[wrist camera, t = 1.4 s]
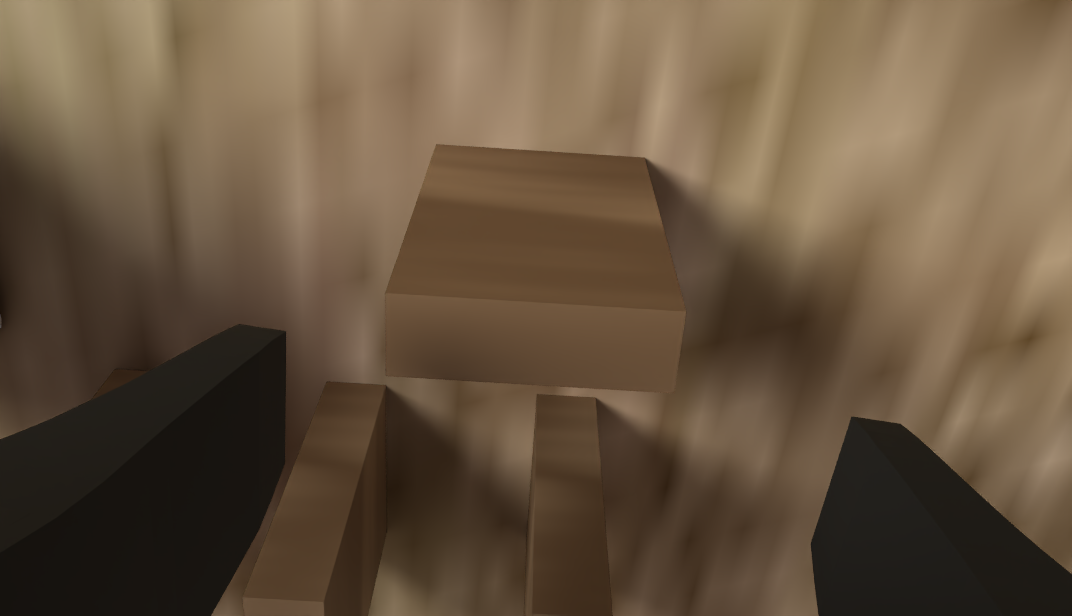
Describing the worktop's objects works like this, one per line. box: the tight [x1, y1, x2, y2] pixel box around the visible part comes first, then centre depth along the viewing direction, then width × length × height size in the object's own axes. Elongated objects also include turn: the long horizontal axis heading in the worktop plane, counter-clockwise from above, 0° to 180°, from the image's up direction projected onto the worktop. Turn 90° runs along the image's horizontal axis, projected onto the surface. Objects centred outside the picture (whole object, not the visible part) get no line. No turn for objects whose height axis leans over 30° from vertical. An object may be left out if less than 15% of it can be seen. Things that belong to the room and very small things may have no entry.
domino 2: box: [385, 144, 686, 393], centre depth 18 cm, size 1×4×7 cm, turn 87°
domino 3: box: [524, 394, 613, 616], centre depth 21 cm, size 1×4×7 cm, turn 176°
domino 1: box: [242, 382, 387, 616], centre depth 21 cm, size 1×4×7 cm, turn 177°
